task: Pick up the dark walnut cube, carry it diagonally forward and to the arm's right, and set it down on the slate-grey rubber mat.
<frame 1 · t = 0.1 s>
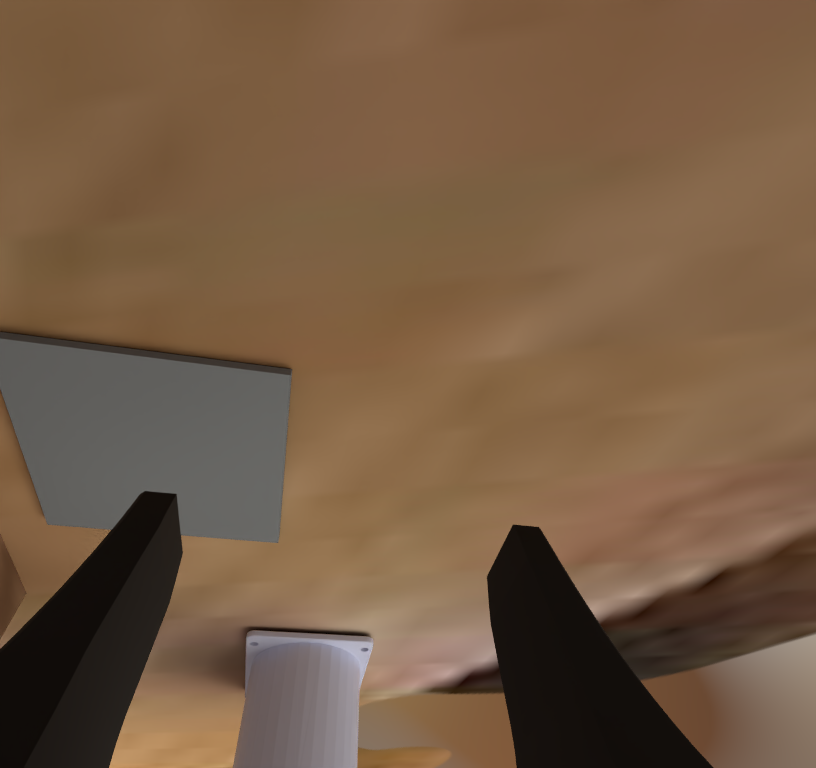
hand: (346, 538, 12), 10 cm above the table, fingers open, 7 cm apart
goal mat: (159, 451, 24), on the table
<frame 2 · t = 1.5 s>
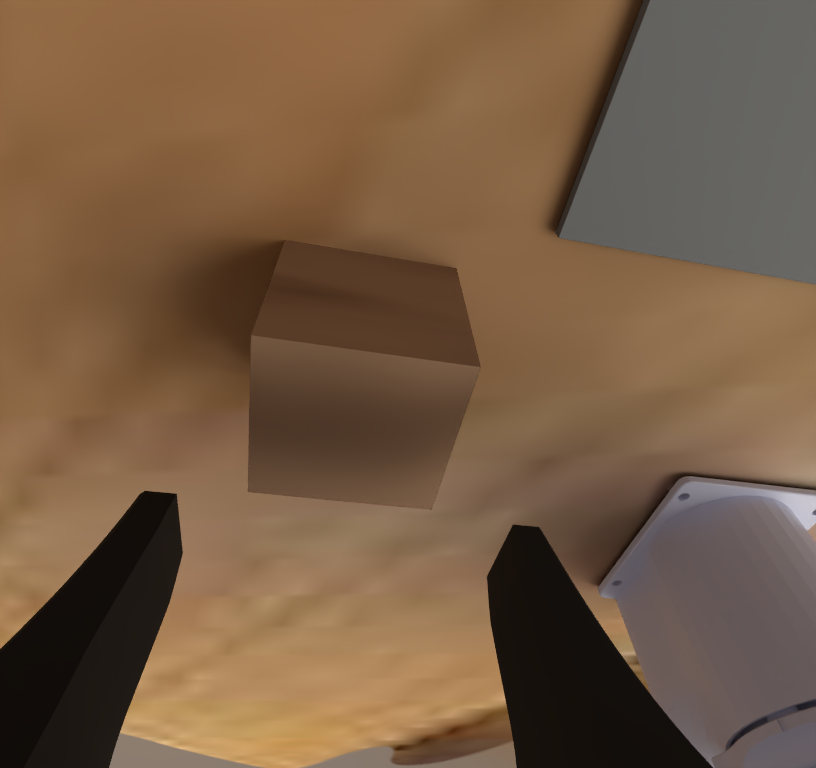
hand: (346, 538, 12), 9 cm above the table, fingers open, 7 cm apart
walnut cube: (360, 326, 19), on the table
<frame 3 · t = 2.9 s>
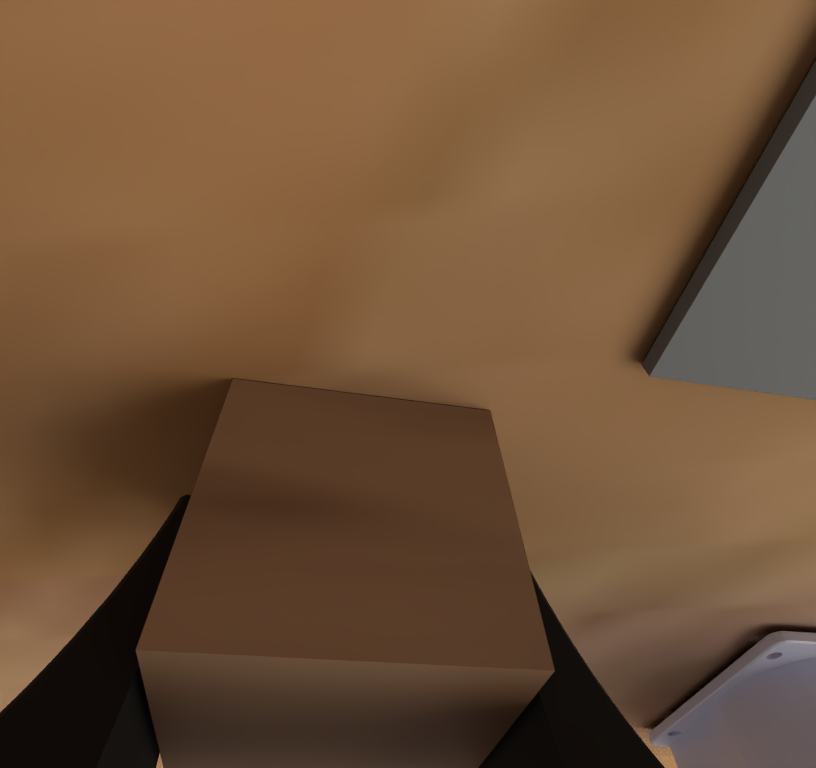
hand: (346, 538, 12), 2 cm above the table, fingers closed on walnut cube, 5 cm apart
walnut cube: (349, 481, 13), on the table, touching gripper
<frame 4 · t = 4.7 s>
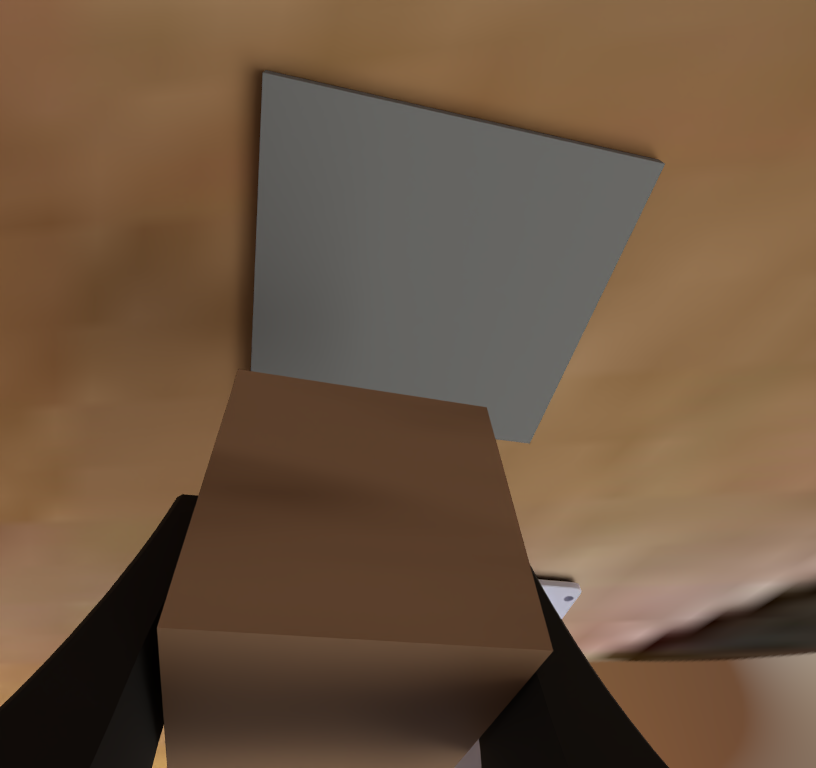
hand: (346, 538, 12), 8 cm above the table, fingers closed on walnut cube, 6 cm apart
walnut cube: (346, 473, 13), point 6 cm above the table, touching gripper
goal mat: (427, 296, 18), on the table
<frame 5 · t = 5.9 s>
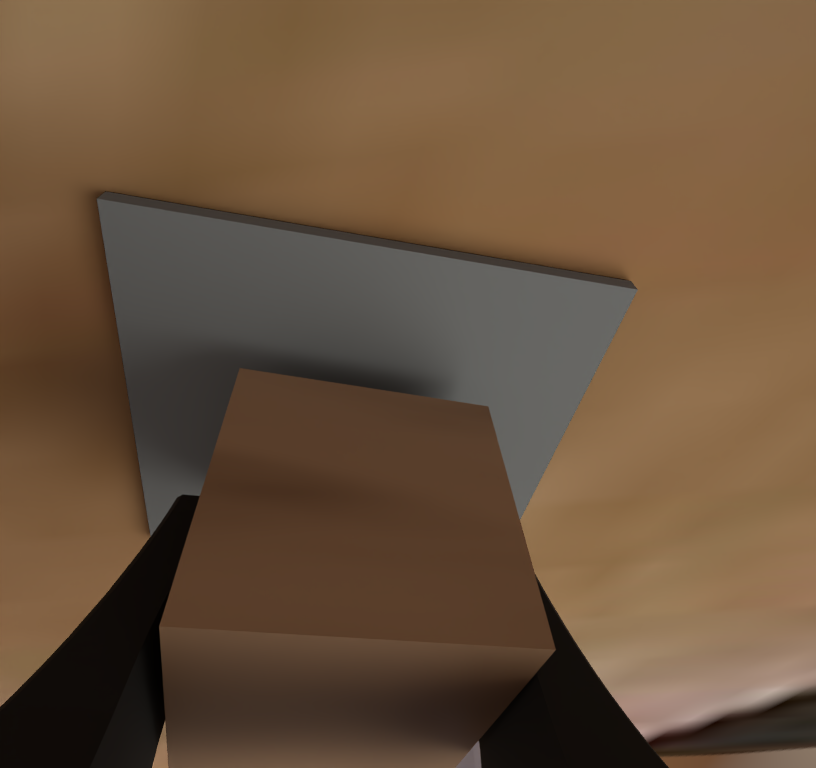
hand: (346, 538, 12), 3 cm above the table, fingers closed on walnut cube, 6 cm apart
walnut cube: (347, 472, 13), point 1 cm above the table, touching gripper
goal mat: (353, 431, 14), on the table
when the fingers open (3 cm above the table, at t = 6.8 s): walnut cube drops 1 cm, resting on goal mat.
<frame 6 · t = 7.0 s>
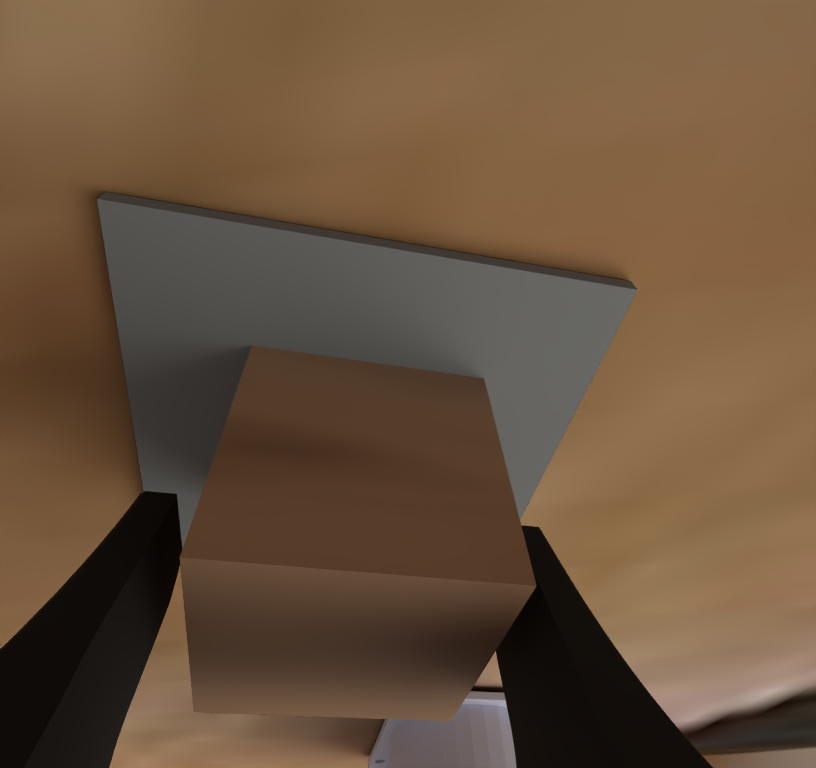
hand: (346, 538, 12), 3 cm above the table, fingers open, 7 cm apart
walnut cube: (355, 445, 14), resting on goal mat
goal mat: (353, 431, 14), on the table
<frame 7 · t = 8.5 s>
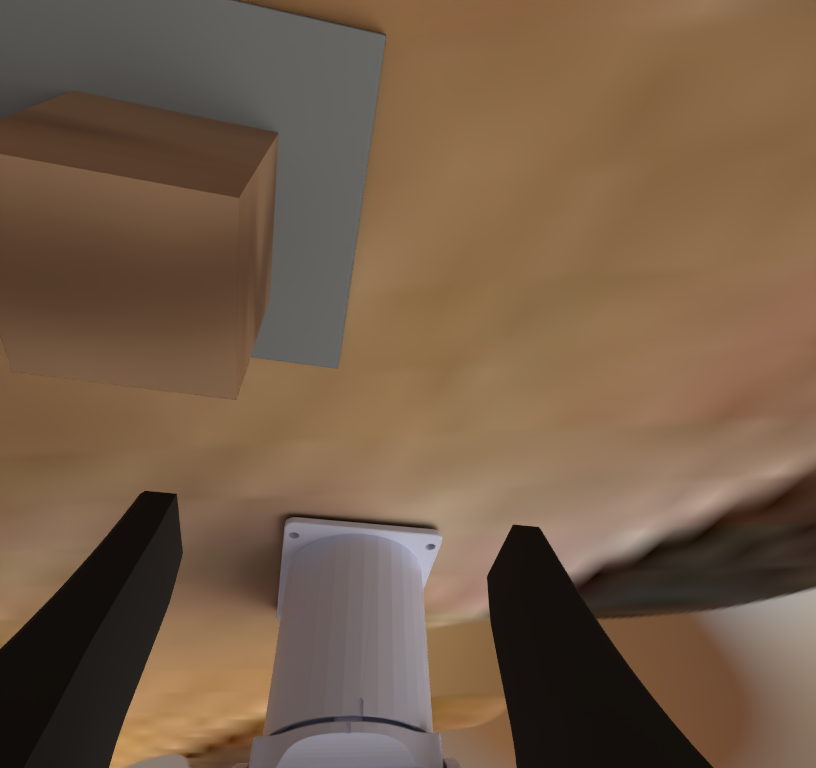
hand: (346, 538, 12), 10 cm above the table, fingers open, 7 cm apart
walnut cube: (183, 207, 17), resting on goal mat
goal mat: (184, 199, 17), on the table
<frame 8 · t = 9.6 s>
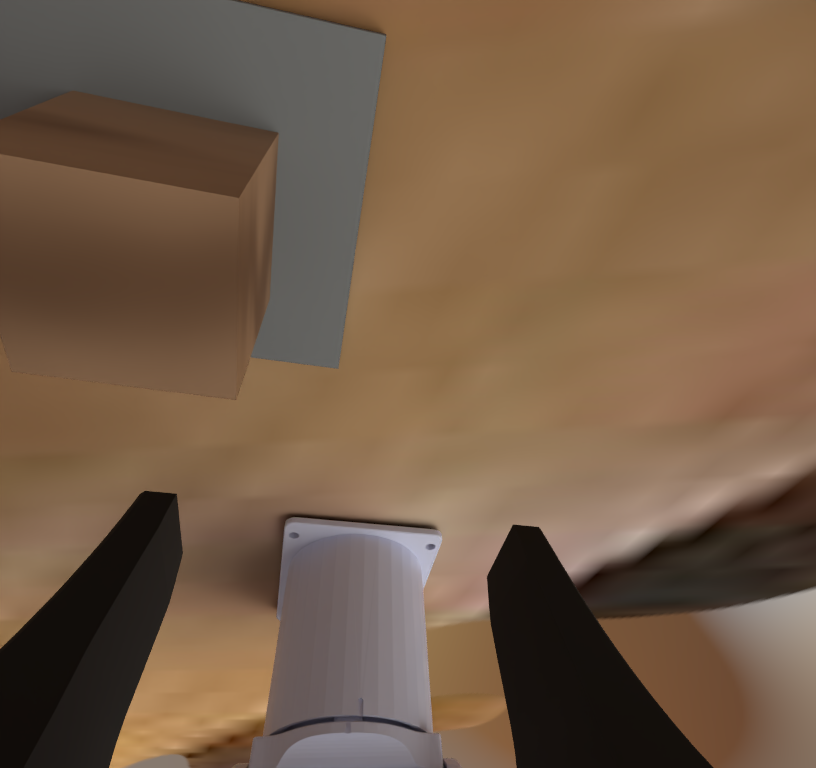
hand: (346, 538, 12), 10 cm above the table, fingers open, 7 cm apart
walnut cube: (183, 207, 17), resting on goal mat
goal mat: (184, 199, 17), on the table
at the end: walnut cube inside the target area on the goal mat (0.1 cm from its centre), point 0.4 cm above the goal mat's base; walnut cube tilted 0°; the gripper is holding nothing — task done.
